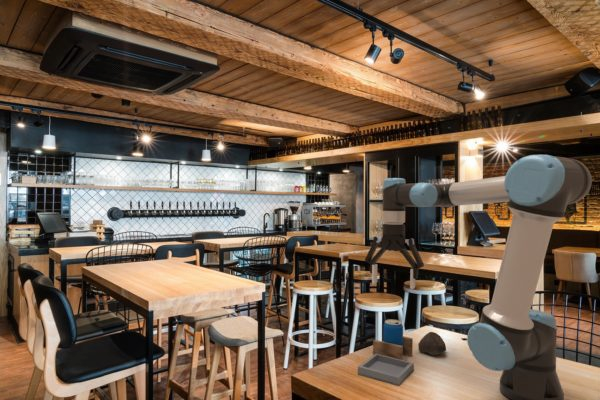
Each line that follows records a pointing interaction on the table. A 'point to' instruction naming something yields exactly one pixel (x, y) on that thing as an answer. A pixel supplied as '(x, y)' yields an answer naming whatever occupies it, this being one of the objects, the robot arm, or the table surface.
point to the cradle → (393, 348)
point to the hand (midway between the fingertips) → (393, 285)
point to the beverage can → (393, 332)
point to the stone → (432, 344)
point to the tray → (386, 369)
